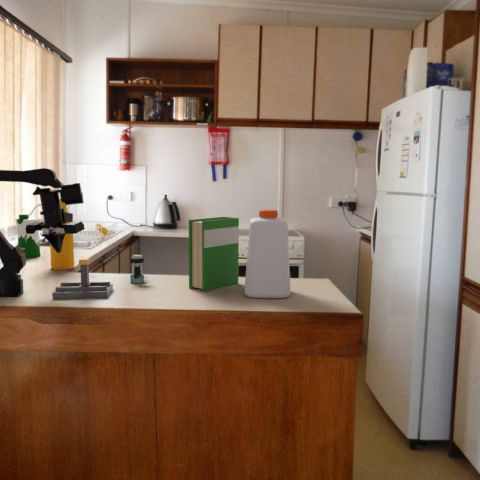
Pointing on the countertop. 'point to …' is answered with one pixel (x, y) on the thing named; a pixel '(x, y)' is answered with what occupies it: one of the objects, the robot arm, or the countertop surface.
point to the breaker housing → (82, 290)
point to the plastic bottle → (268, 257)
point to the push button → (137, 269)
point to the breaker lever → (84, 271)
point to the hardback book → (213, 252)
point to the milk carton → (28, 237)
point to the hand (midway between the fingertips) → (59, 252)
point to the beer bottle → (63, 250)
